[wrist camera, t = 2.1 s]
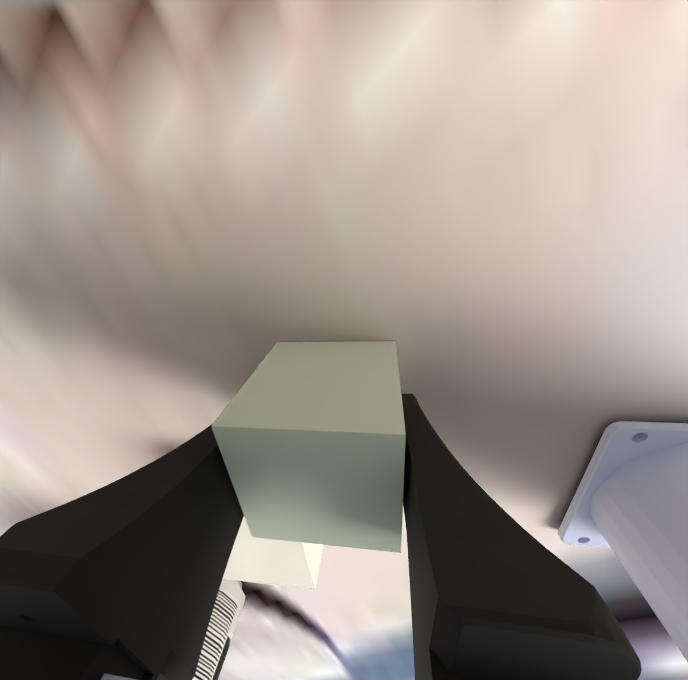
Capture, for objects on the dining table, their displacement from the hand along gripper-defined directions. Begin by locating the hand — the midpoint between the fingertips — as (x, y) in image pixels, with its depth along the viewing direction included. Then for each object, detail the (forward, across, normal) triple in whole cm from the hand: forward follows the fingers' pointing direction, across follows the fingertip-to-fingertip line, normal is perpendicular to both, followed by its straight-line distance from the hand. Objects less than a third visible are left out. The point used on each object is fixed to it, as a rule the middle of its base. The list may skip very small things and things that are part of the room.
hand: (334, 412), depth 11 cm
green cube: (+1, 0, 0) cm, 1 cm away
